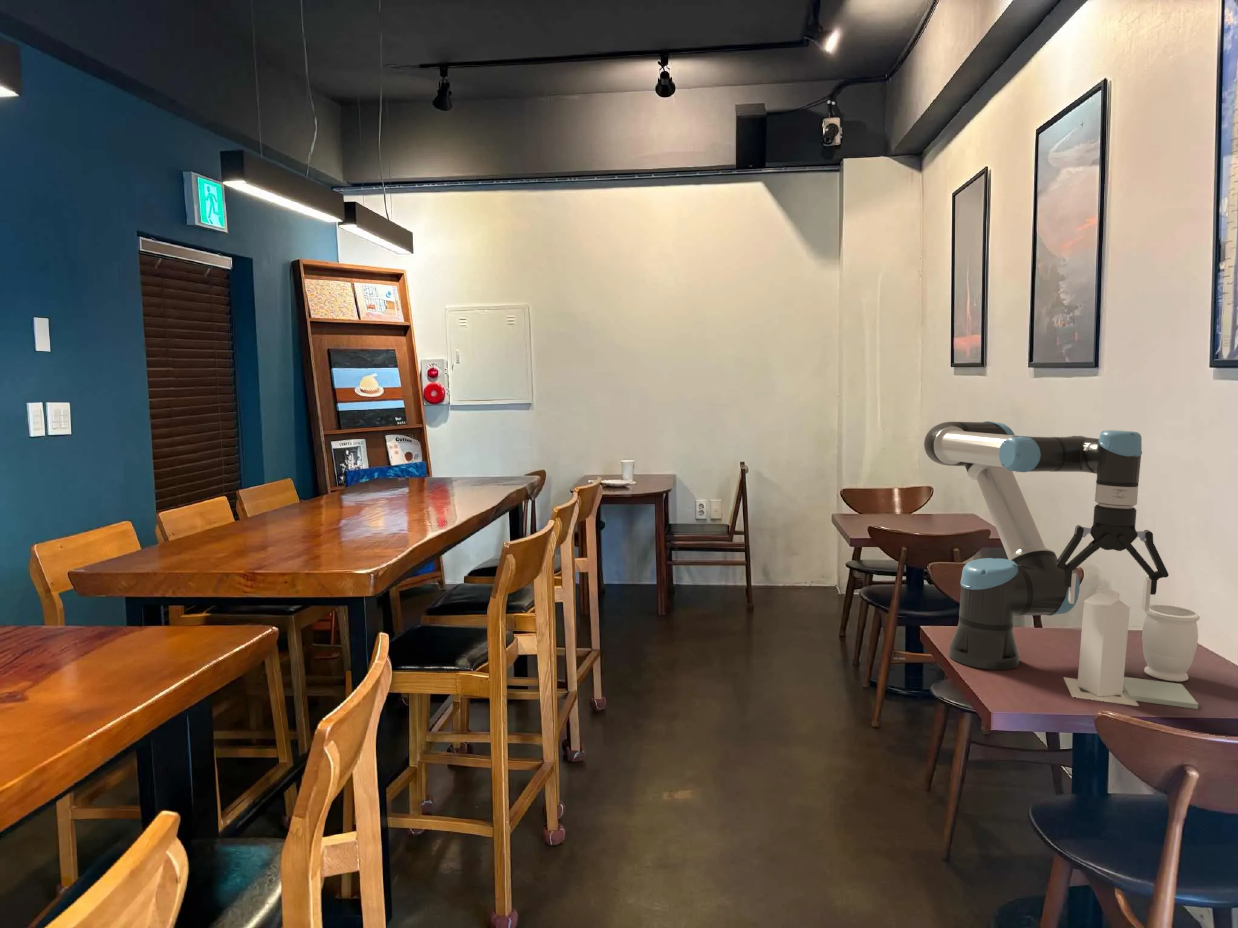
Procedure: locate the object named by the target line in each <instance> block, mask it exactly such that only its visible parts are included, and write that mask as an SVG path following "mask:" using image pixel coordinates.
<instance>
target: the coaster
mask: <svg viewBox="0 0 1238 928" xmlns="http://www.w3.org/2000/svg"><path fill="white" fill-rule="evenodd" d="M1123 690H1124V691H1125V693H1126V694H1127V696H1128V698H1129V699H1130V700H1135V701H1136V702H1140V703H1141V702H1142V703H1150V704H1155V705H1156V704H1157V705H1167V706H1172V707H1179V708H1188V709H1195V710H1198V709H1199V703H1198V702H1197V701H1196V699H1195V698H1194V697H1193V696H1192V695H1191V693H1190V692H1189V691H1188V690H1187V688H1185V686H1184V685H1183V684H1182V683H1179V682H1177V683H1175V682H1171V681H1163V680H1162V681H1159V680H1153V679H1146V678H1145V679H1143V678H1137V677H1129V676H1124V681H1123Z"/></svg>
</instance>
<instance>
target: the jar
mask: <svg viewBox="0 0 1238 928" xmlns="http://www.w3.org/2000/svg"><path fill="white" fill-rule="evenodd" d="M1144 613H1145V614H1146V616H1145V618H1144V621H1143V626H1142V633H1141V634H1142V635H1141V639H1142V642H1141V643H1142V647H1143V648H1142V651H1143V652H1142V653H1143V658H1144V660H1145V662H1146V666H1145V667H1144V669H1143V670H1144V673H1146V674H1147V676H1150V677H1152V678H1156V679H1159V680H1162V681H1166V682H1174V683H1175V682H1177V683H1179V682H1185V681H1188V680H1189V675H1188V673H1187V671H1189V669H1190V668H1191V666H1192V664H1193V661H1194V658H1195V654H1196V652H1197V646H1198V643H1199V642H1198V641H1199V631H1198V624H1197V622H1198V621H1199V620H1200V618H1201V613H1198V612H1197V611H1195V610H1192V609H1188V608H1185V607H1184V608H1183V607H1181V606H1180V607H1179V606H1174V605H1173V606H1172V605H1168V604H1167V605H1165V604H1149V611H1144Z"/></svg>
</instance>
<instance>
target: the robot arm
mask: <svg viewBox="0 0 1238 928" xmlns="http://www.w3.org/2000/svg"><path fill="white" fill-rule="evenodd" d="M924 437H925V438H924V442H923V447H924V452H925V454H926V455H927V456H928V458H929V459H930V460H931V461H933V462H934V463H937V464H939V465H943V466H947V467H948V466H949V467H950V466H951V467H964V468H965V469H966V472H967V474H968V475H967V476H968V477H969V478H970V479H971V480H975V481H977V483H978V485H979V488H980V491H981V493H982V496H983V499H984V501H985V502H986V506H987V508H988V511H989V513H990V516H991V519H992V521H993V523H994V526H995V528H996V529H995V530H996V531H997V533H998V535H999V536H998V537H999V539H1000V541H1001V544H1002V547H1003V548H1004V551H1005V554H1006V557H1007V558H1001V557H1000V558H999V557H998V558H993V557H985V558H978V559H974V560H973V559H972V560H971V561H968V562H967V563H966V564H965V565H964V566H963V568H962V571H961V576H960V577H961V579H960V595H959V596H960V598H959V610H958V611H959V613H958V616H959V617H958V624H957V626H956V630H955V632H954V633H953V636H952V638H951V640H950V643H949V646H948V656H949V657H950V659H952V660H953V661H955V662H957V663H959V664H962V665H965V666H967V667H973V668H976V669H982V670H991V671H1007V670H1012V669H1016V668H1017V667H1019V665H1020V651H1019V649H1018V645H1017V642H1016V637H1015V634H1014V621H1015V619H1014V617H1016V616H1018V617H1019V616H1021V617H1022V616H1048V617H1049V616H1054V615H1062V614H1066V613H1069V612H1070V611H1071V610H1072V609H1073V608H1074V607H1075V606H1076V604H1077V602H1078V599H1079V595H1080V580H1079V576H1078V573H1077V571H1075V569H1077V568H1078V567H1079V566H1080V565H1081V564H1083V562H1085V560H1087V559H1088V558H1090V556H1091V555H1092V554H1094V553H1095V552H1097V551H1098V550H1099V549H1103V550H1104V551H1111V550H1113V551H1116V552H1122V551H1124V550H1126V551H1127V552H1128V553H1129V554H1130V555H1131V557H1132V558H1133V559H1134V560H1135V561H1136V562H1137V564H1138V565H1139V566H1140V567H1141V568H1142V570H1143V571H1144V572H1145V573H1146V574H1147V576H1144V577H1143V584H1142V585H1143V586H1142V596H1141V609H1142V610H1143V611H1144V612H1145V611H1149V605H1151V604H1150V603H1151V601H1150V600H1151V595H1154V596H1155V595H1156V594H1157V586H1158V580H1159V579H1162V578H1168V577H1169V575H1170V574H1169V572H1168V570H1167V568H1166V566H1165V564H1164V562H1163V559H1162V557H1161V555H1160V554H1159V551H1158V549H1157V547H1156V545H1155V543H1154V534H1153V532H1152V531H1151V530H1149V529H1144V530H1141V531H1139V530H1138V531H1137V530H1136V521H1137V509H1136V508H1135V506H1136V505H1138V494H1139V482H1140V480H1139V479H1140V473H1141V472H1140V471H1141V462H1142V461H1141V460H1142V455H1143V450H1142V449H1143V448H1142V446H1143V445H1142V440H1143V439H1142V435H1141V433H1139V432H1137V431H1132V430H1130V431H1129V430H1128V431H1127V430H1115V429H1113V430H1103V431H1101V432H1100V434H1099V438H1097V437H1096V438H1094V437H1086V436H1083V435H1079V436H1078V435H1071V436H1070V435H1069V436H1026V435H1016V434H1015V432H1014V431H1013V430H1012V428H1011V427H1009V426H1008V425H1006V424H1005V423H1001V422H993V421H989V420H988V421H982V422H980V421H947V422H942V423H939V424H937V425H935V426H933V427H932V428H930V430H928V432H927V433H926V435H925V436H924ZM1014 472H1016V473H1028V472H1033V473H1034V472H1035V473H1036V472H1051V473H1052V472H1053V473H1055V472H1057V473H1059V472H1064V473H1065V472H1067V473H1068V472H1069V473H1071V472H1074V473H1077V472H1080V473H1090V474H1096V480H1095V494H1094V495H1095V496H1094V502H1095V503H1097V504H1095V506H1094V508H1093V518H1092V519H1093V521H1092V522H1093V523H1092V526H1091V527H1085V526H1081V524H1080V525H1079V524H1077V525H1076V526H1075V528H1074V534H1073V536H1072V538H1071V539H1070V540H1069V542H1068V543H1067V545H1066V546H1065V548H1064V549H1063V551H1061V553H1060V555H1059V557H1057V555H1056V552H1055V551H1053V550H1052V549H1049V548H1046V546H1045V544H1044V542H1043V540H1042V537H1041V535H1040V532H1039V530H1038V527H1037V525H1036V523H1035V521H1034V518H1033V516H1032V513H1031V512H1030V509H1029V507H1028V504H1027V502H1026V499H1025V498H1024V495H1023V493H1022V490H1021V488H1020V486H1019V484H1018V481H1017V479H1016V476H1015V474H1014ZM1089 534H1090V536H1091V537H1092V541H1090V542H1089V543H1088V545H1086V546H1085V547H1084V549H1082V550H1081V551H1080V552H1079V553H1078V554H1077V555H1076V556H1074V557H1073V558H1072V559H1071V560H1070V561H1069V559H1070V557H1071V556H1072V554H1073V553H1074V552H1075V550H1077V548H1078V546H1079V544H1080V543H1081V541H1082V539H1083V538H1086V537H1087V536H1088V535H1089ZM1137 538H1139V539H1140V541H1141V542H1143V543H1144V546H1145V548H1146V549H1147V551H1148V554H1149V556H1150V558H1151V560H1152V562H1153V564H1154V566H1155V568H1156V571H1154V569H1153V568H1152V566H1150V564H1148V562H1147V561H1146V560H1145V558H1144V557H1143V556H1142V555H1141V554H1140V553H1139V552H1138V550H1137V549H1136V548H1135V546H1133V544H1132V543H1134V541H1135V540H1136V539H1137ZM1068 561H1069V562H1068Z"/></svg>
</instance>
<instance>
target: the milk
mask: <svg viewBox="0 0 1238 928" xmlns="http://www.w3.org/2000/svg"><path fill="white" fill-rule="evenodd" d="M1095 591H1096V592H1095V593H1093V594H1092V595H1090V596H1089V597H1087V598H1086V599H1085V600H1084V601H1083V611H1082V620H1081V621H1082V624H1081V635H1080V636H1081V637H1080V647H1079V648H1080V649H1079V660H1078V672H1077V679H1078V683H1077V686H1078V687H1080V688H1082V689H1084V690H1086V691H1088V692H1090V693H1092V694H1094V695H1096V696H1099V697H1100V696H1113V695H1122V693H1123V681H1124V677H1125V671H1126V669H1125V668H1126V657H1127V647H1128V646H1127V644H1128V634H1129V633H1128V632H1129V624H1130V623H1129V621H1130V611H1131V610H1130V609H1131V607H1130V606H1128V605H1127V604H1126V603H1124V602H1122V600H1120V593H1119V592H1118V591H1115V590H1112V589H1109V588H1106V587H1103V586H1099V585H1097V586H1096V589H1095Z"/></svg>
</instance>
